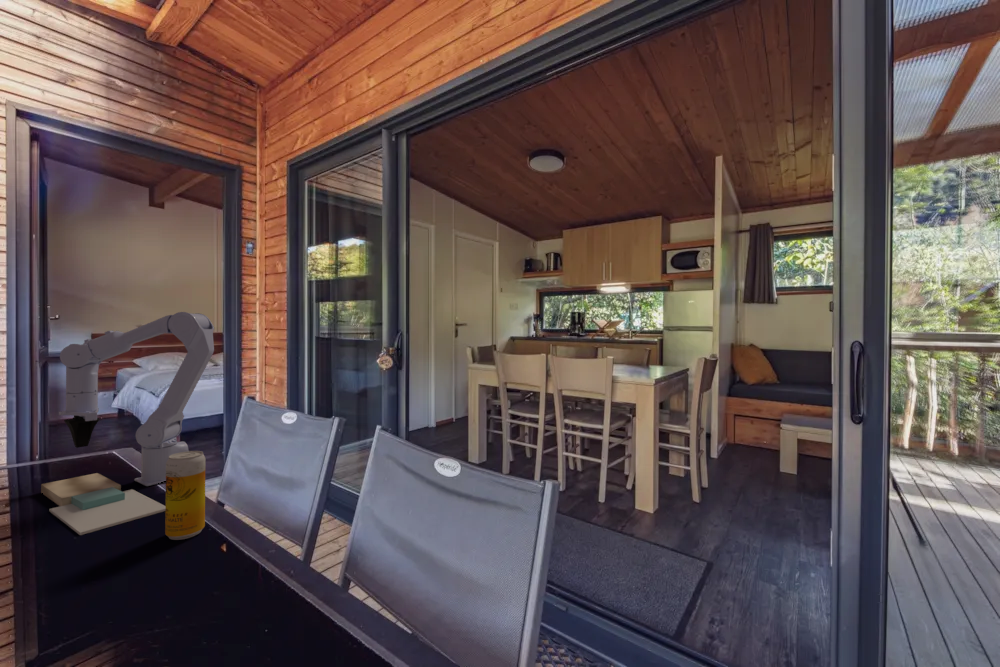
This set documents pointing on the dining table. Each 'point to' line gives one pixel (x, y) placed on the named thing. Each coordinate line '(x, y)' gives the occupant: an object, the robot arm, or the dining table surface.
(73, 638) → the dining table surface
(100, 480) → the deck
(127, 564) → the dining table surface
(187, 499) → the beer can
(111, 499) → the tile
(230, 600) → the dining table surface
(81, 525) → the mat
